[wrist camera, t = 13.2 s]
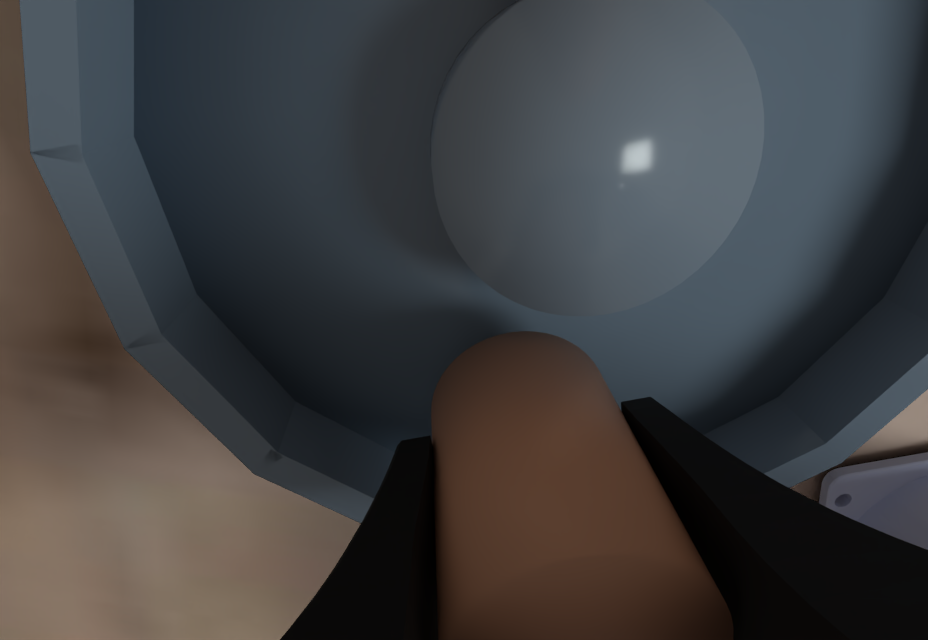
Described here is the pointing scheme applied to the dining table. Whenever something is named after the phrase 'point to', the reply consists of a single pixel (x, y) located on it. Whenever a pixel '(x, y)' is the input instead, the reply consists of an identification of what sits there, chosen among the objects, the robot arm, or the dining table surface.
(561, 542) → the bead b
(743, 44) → the ring tray
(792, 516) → the robot arm
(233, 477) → the dining table surface
